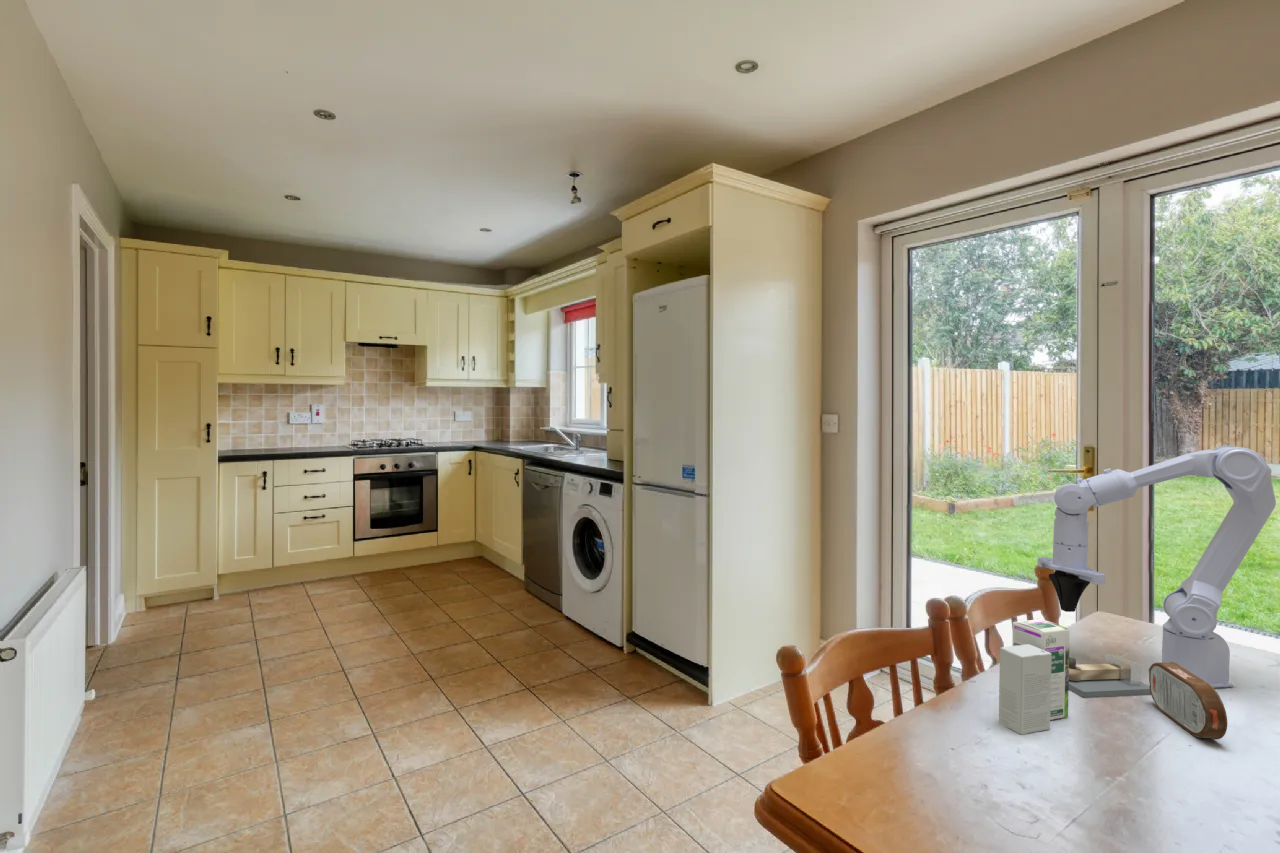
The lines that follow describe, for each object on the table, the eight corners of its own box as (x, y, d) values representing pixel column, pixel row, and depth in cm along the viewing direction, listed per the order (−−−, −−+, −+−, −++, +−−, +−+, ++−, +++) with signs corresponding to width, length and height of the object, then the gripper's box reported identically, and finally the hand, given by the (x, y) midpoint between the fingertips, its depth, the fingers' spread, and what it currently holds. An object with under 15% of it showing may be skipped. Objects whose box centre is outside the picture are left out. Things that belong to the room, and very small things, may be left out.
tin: (1228, 750, 91) (1231, 693, 91) (1203, 747, 92) (1206, 691, 92) (1164, 703, 106) (1166, 654, 106) (1143, 701, 107) (1145, 652, 106)
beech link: (1069, 681, 111) (1070, 662, 111) (1056, 674, 114) (1057, 655, 114) (1132, 679, 113) (1133, 660, 112) (1118, 672, 116) (1119, 654, 115)
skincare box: (1026, 717, 100) (1028, 643, 100) (1050, 730, 96) (1053, 653, 96) (996, 721, 98) (998, 646, 98) (1020, 735, 94) (1022, 657, 94)
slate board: (1100, 668, 120) (1101, 663, 120) (1155, 694, 109) (1155, 688, 109) (1035, 671, 118) (1035, 666, 118) (1083, 697, 108) (1083, 691, 108)
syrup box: (1042, 723, 98) (1045, 631, 98) (1009, 706, 104) (1012, 619, 104) (1068, 718, 100) (1071, 628, 100) (1034, 701, 106) (1037, 616, 105)
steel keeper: (1114, 673, 116) (1115, 653, 116) (1140, 685, 111) (1141, 664, 111) (1104, 673, 116) (1105, 653, 115) (1130, 685, 110) (1131, 665, 110)
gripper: (1025, 536, 132) (1023, 600, 132) (1082, 551, 118) (1080, 623, 118) (1055, 536, 133) (1053, 599, 133) (1115, 551, 119) (1113, 622, 119)
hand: (1068, 610), depth 126 cm, fingers closed
